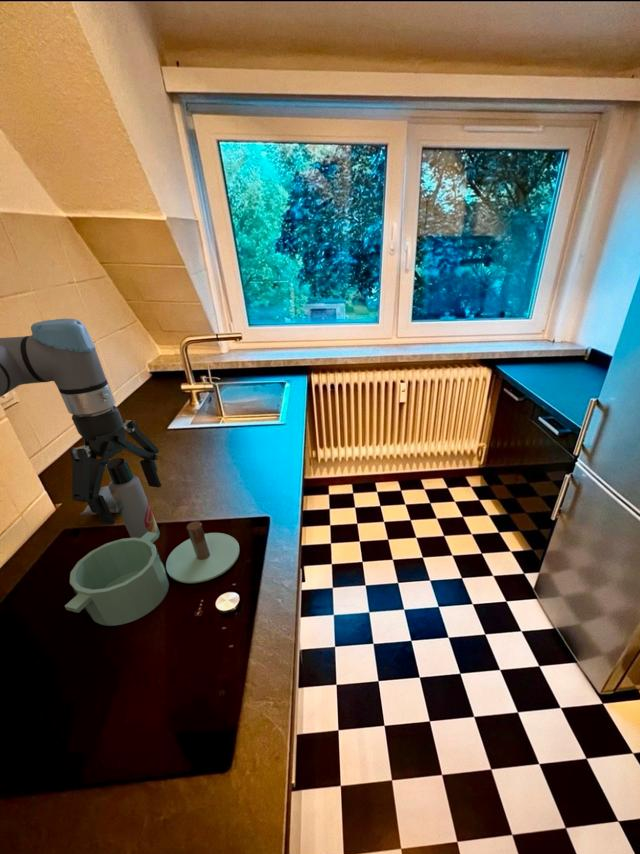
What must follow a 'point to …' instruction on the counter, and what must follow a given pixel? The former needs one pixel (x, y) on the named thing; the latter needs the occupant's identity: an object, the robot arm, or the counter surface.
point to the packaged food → (108, 498)
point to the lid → (202, 556)
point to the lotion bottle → (130, 499)
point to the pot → (119, 581)
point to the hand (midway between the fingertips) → (133, 503)
